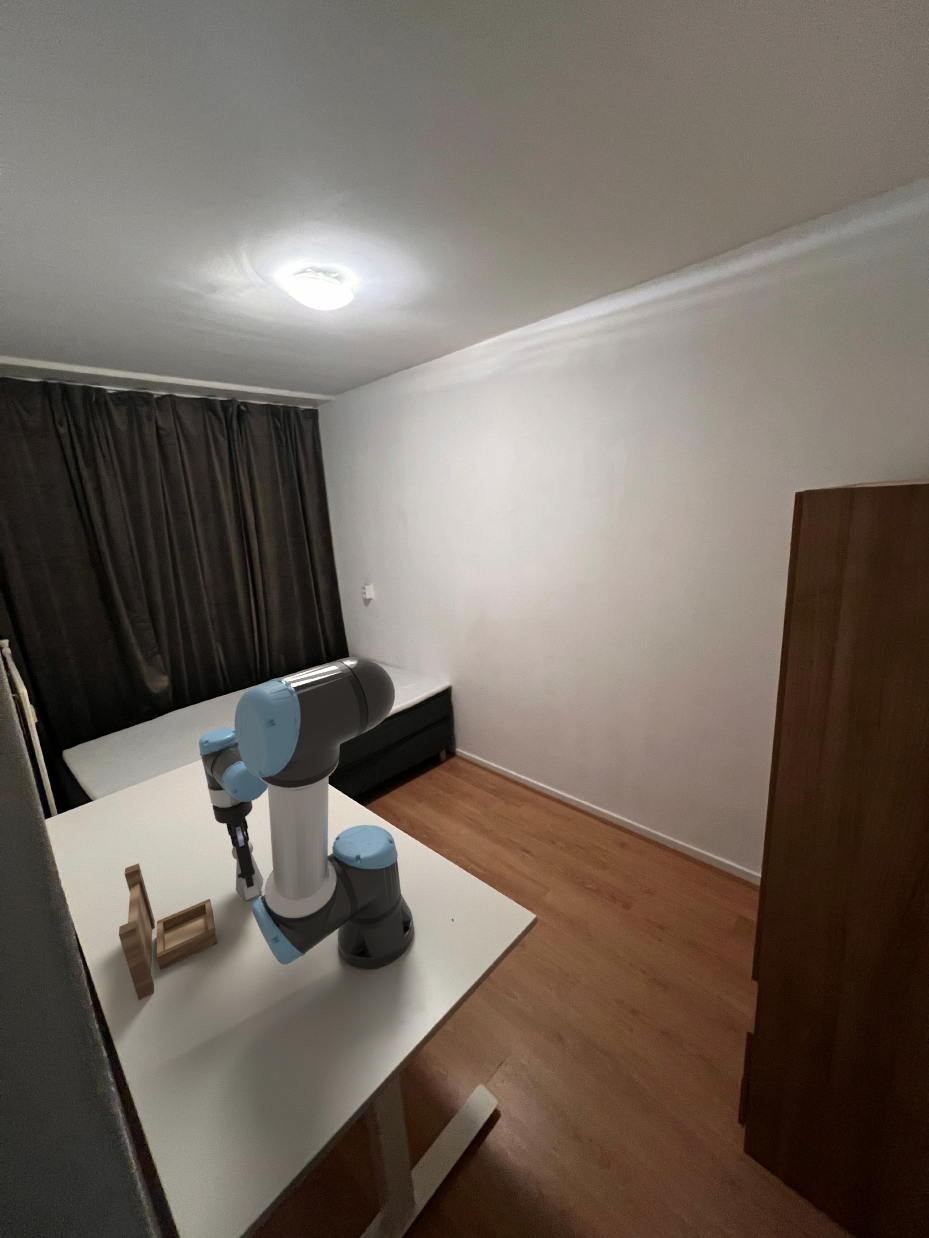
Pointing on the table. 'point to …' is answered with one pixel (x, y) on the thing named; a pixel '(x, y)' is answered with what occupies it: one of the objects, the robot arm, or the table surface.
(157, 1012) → the table surface
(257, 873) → the salt shaker
